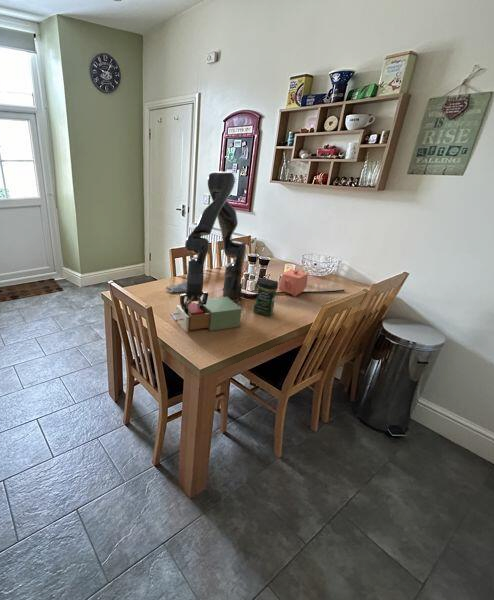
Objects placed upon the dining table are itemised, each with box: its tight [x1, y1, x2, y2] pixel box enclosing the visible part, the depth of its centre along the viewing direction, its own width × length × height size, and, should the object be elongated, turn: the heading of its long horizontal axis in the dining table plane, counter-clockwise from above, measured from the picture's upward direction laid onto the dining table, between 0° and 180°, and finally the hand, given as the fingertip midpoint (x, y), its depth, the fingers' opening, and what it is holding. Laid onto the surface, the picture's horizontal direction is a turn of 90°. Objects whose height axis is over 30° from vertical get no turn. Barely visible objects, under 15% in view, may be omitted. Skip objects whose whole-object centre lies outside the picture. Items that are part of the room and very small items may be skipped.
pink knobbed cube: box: [278, 269, 308, 297], centre depth 196 cm, size 22×13×14 cm, turn 134°
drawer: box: [170, 302, 211, 333], centre depth 157 cm, size 19×13×8 cm
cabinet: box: [201, 297, 243, 331], centre depth 161 cm, size 16×15×10 cm
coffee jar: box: [253, 277, 279, 317], centre depth 169 cm, size 10×8×19 cm
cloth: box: [166, 280, 187, 294], centre depth 202 cm, size 26×14×2 cm, turn 131°
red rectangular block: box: [183, 302, 203, 318], centre depth 156 cm, size 6×10×4 cm, turn 17°
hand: (192, 313), depth 156 cm, fingers closed on red rectangular block, 6 cm apart
